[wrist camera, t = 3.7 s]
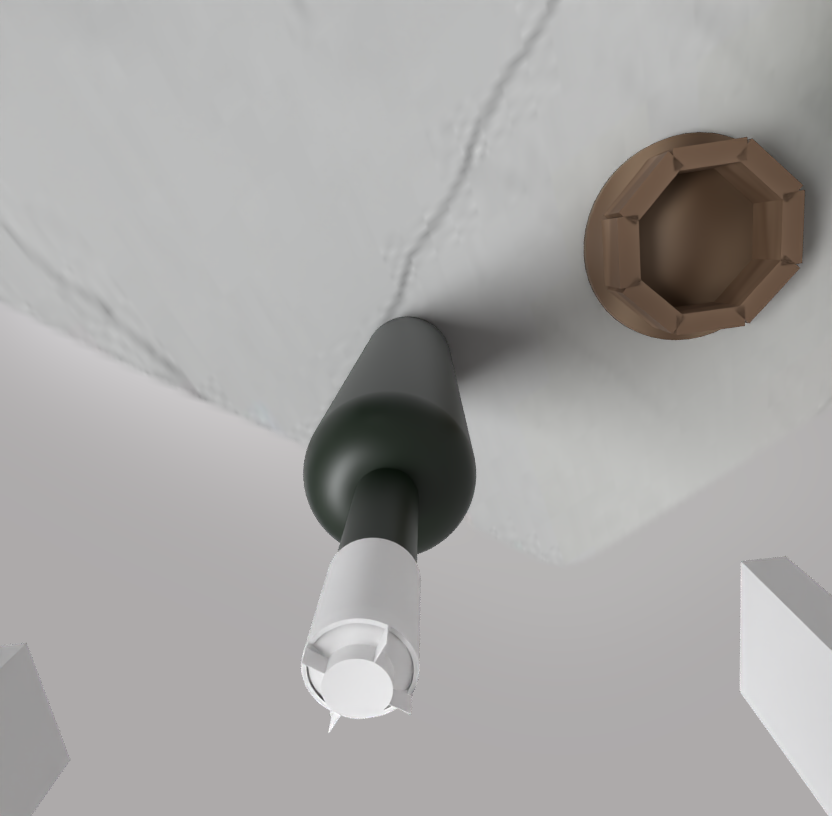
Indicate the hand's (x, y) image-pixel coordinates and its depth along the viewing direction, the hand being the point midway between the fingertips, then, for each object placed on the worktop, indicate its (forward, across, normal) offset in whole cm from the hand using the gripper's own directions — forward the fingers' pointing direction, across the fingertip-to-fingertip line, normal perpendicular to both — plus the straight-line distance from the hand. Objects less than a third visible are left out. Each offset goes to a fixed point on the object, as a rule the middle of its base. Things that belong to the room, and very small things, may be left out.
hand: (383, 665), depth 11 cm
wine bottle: (+29, 0, 0) cm, 30 cm away
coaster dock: (+29, +18, +6) cm, 35 cm away
